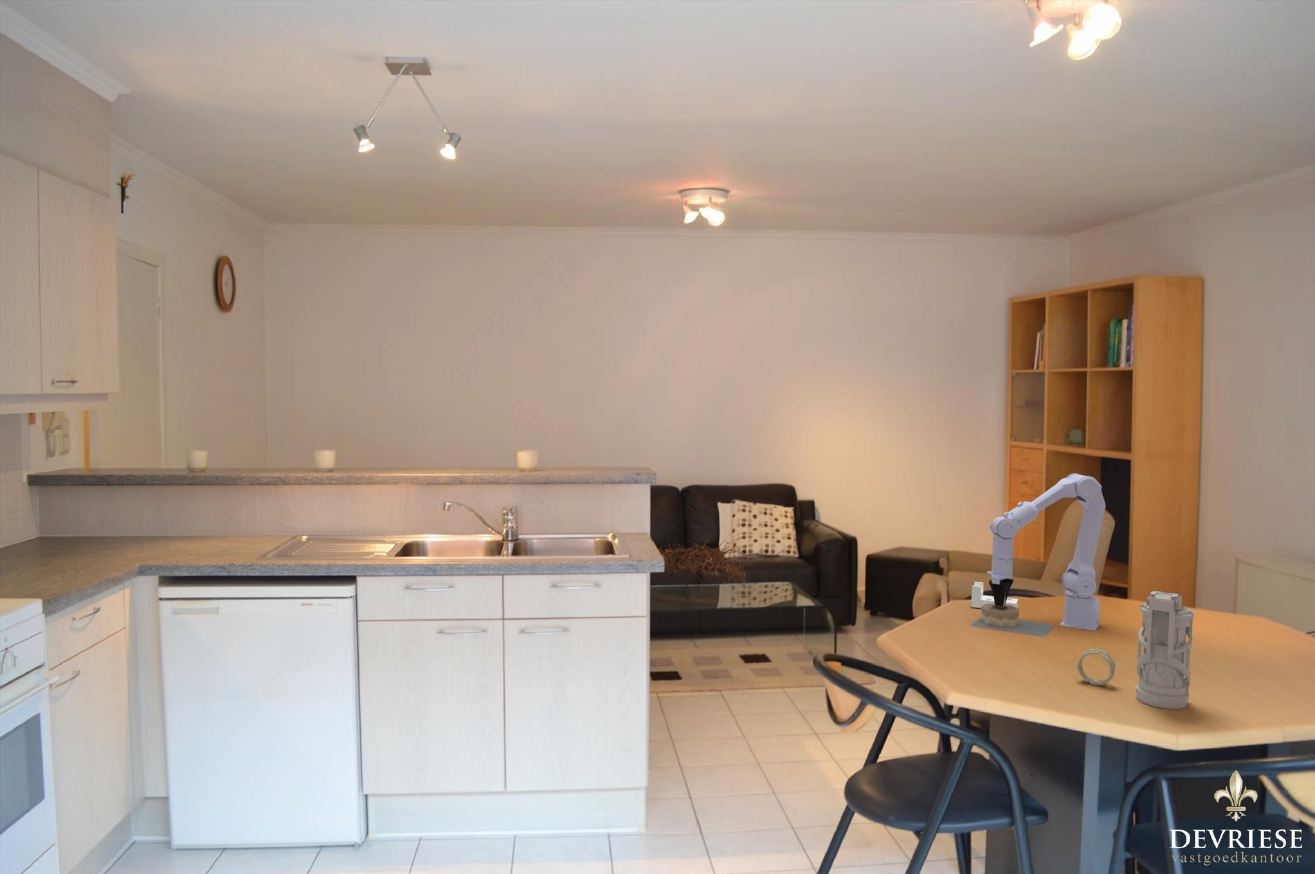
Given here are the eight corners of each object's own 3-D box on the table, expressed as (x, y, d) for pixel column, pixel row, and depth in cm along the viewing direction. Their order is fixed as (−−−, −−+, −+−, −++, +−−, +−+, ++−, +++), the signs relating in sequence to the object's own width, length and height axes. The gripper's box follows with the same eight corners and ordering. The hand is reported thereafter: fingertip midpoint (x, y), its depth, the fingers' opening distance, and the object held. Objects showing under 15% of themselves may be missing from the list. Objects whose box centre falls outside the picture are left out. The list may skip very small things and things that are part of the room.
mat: (1055, 626, 273) (1055, 625, 273) (1044, 638, 260) (1044, 636, 260) (984, 615, 284) (984, 614, 284) (970, 626, 271) (970, 625, 271)
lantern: (1139, 690, 216) (1145, 582, 214) (1191, 700, 209) (1198, 589, 208) (1128, 705, 205) (1134, 591, 204) (1182, 716, 199) (1189, 599, 198)
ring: (1020, 621, 276) (1021, 606, 276) (1012, 628, 268) (1013, 612, 268) (986, 616, 282) (987, 601, 281) (978, 623, 274) (979, 607, 273)
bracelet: (1079, 678, 224) (1080, 645, 223) (1115, 685, 219) (1117, 651, 219) (1075, 682, 221) (1076, 648, 220) (1112, 689, 216) (1114, 655, 216)
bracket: (971, 609, 293) (972, 585, 292) (973, 605, 299) (974, 581, 299) (1015, 615, 287) (1016, 590, 287) (1017, 610, 294) (1018, 586, 293)
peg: (1005, 614, 275) (1006, 587, 275) (1003, 615, 273) (1004, 588, 273) (996, 612, 277) (997, 585, 276) (994, 614, 275) (995, 587, 274)
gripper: (994, 553, 282) (992, 598, 283) (981, 560, 270) (979, 607, 271) (1018, 556, 278) (1016, 601, 279) (1007, 563, 266) (1005, 610, 267)
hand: (1000, 604), depth 275 cm, fingers closed on peg, 3 cm apart
